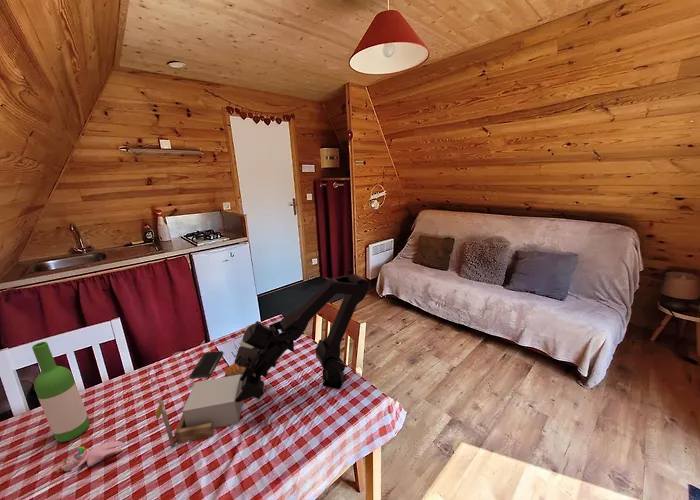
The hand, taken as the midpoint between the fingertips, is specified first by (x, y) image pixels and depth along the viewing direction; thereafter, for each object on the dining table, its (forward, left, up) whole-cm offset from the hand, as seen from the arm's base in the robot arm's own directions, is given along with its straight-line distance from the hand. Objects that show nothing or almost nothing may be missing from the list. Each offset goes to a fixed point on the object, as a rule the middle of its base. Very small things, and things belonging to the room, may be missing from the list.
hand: (239, 390), depth 92 cm
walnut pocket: (+10, +8, -7) cm, 14 cm away
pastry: (+13, -15, -7) cm, 21 cm away
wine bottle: (+44, +21, -7) cm, 49 cm away
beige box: (+6, +3, -7) cm, 10 cm away
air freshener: (+16, -29, -7) cm, 34 cm away
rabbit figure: (+27, +26, -7) cm, 38 cm away
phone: (+28, -15, -7) cm, 32 cm away
